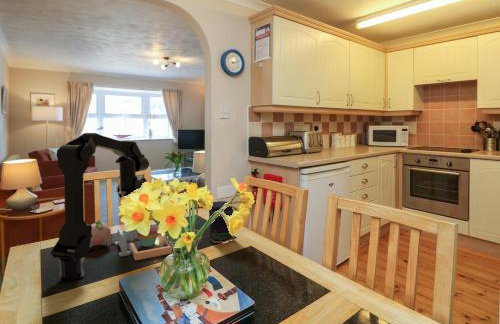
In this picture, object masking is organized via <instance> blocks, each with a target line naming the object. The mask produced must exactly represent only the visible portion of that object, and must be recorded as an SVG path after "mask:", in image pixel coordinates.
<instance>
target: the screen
mask: <svg viewBox="0 0 500 324" xmlns="http://www.w3.org/2000/svg"><path fill="white" fill-rule="evenodd" d="M114 245H115V246H119V248H120V252H119V253H118V255H119V257H126V256H130V255H132V253H131V251H130V250H128V239H127V237H126V234H125V233H124V231H123V229H122V228H121V227H120V228H119V227H118V228H117V241H115V242H114Z"/></svg>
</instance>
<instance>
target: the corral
mask: <svg viewBox="0 0 500 324" xmlns="http://www.w3.org/2000/svg"><path fill="white" fill-rule="evenodd" d="M164 240H165V241H164V242H165V245H166V246H163V247H156V248H151V249H145V250H141V251H138V249H137V247H136V245H135V244H134V243H133V242H130V243H129V251H130V252H131V255H132V257H133V258H134V261H139V260H144V259H148V258H155V257H159V256H164V255H168V254H169V255H171V254H173V253H172V247H171V246H170V244H169V243H168V241H167V240H166V239H165V238H164Z"/></svg>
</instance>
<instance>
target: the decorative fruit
mask: <svg viewBox="0 0 500 324" xmlns="http://www.w3.org/2000/svg"><path fill="white" fill-rule="evenodd" d="M91 226H92V231H91V233H92V237H91V242H90V244H93V245H96V246H101V245H103V244H105V243H106V242H107V241H108V240H109V238H110V236H111V233H112V232H111V228H110V226H109V225H107V224H106V223H104V222H103V221H101V220H95V222H94V223H92V224H91Z"/></svg>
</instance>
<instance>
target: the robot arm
mask: <svg viewBox="0 0 500 324" xmlns="http://www.w3.org/2000/svg"><path fill="white" fill-rule="evenodd" d="M97 148H100V149H104V150H108V151H111V152H112V153H113V154H115V155H117V156H118V158H117V159H116V160H115V163H116V164H119V167H118V168H119V176H118V179H119V184H118V185H117V186H116V193H117V195H118V197H119V199H120V198H121V197H123V196H126V195H128V194H130V193H131V192H133V191H134V190H136V189H138V190H139V188H140V187H141V185H142V183H144V182H147V178H145V177H141V178H139V179H138V176H137V175H136V173H139V172H143V171H147V170H148V169H149V166H150V162H149V160H148V159H147V158H146V156H145V154H143V153H142V152H141V149H140V147H139V146H138V143H137V142H136V141H130V140H128V141H127V140H118V139H115V138H111V137H107V136H104V135H101V134H99V133H96V132H84V133H82V134H80V136H78V137H77V138H74V139H72V140H70V141H68V142H66V143H65V144H63V145H61V146H60V147H59V148H58V149H57V150H56V159H57V165H58V167H59V169H60V171H61V172H62V173H63V177H64V182H63V183H64V185H63V186H64V218H65V219H64V223H63V224H62V227H61V228H60V229H59V235H58V240H57V241H56V243H55V244H54V246H53V248H52V249H51V250H50V255H51V257H52V258H53V259H59V273H58V283H65V282H69V281H73V280H79V279H82V278H84V277H85V274H84V273H85V272H84V267H83V265H82V264H83V263H82V262H83V261H82V259H83V258H85V257H87V256H88V255H89V251H90V246H91V237H92V233H91V231H92V226H91V225H92V224H88V223H86V221H85V214H84V213H85V211H84V210H85V208H84V207H85V204H84V202H85V201H84V199H85V198H84V197H85V196H84V174H85V172H86V170H87V169H88V167H89V165H90V158H91V157H92V156H94V154H95V153H96V149H97Z"/></svg>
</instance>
